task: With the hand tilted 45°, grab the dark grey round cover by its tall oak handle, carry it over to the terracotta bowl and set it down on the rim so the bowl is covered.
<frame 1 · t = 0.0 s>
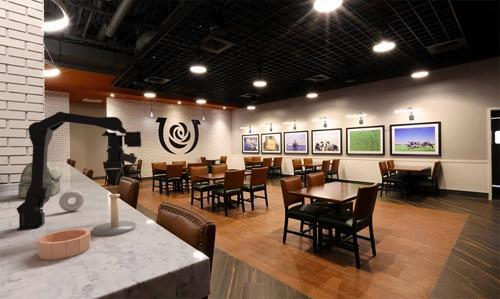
hand: (115, 184, 106), 15 cm above the table, tool pointing down, fingers open, 9 cm apart
donut: (72, 211, 119), on the table
lunch bag: (41, 195, 160), on the table
cover: (114, 229, 92), on the table
bowl: (65, 250, 73), on the table
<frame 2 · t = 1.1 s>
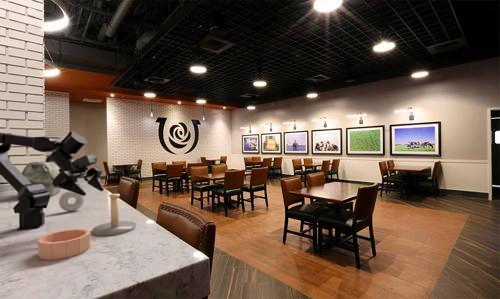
hand: (94, 192, 93), 13 cm above the table, tool tilted 45°, fingers open, 9 cm apart
nothing on the table moved.
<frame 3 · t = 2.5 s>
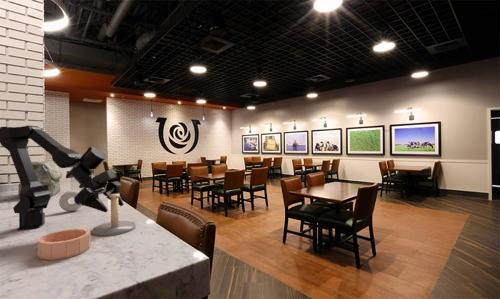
hand: (115, 208, 92), 8 cm above the table, tool tilted 45°, fingers open, 9 cm apart
nothing on the table moved.
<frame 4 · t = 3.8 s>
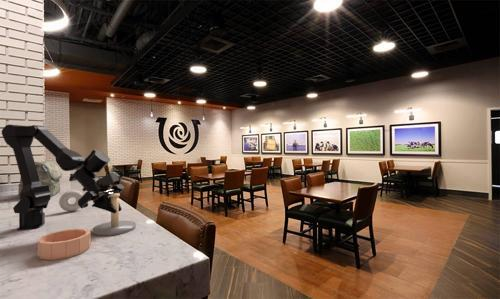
hand: (118, 211, 92), 7 cm above the table, tool tilted 45°, fingers closed on cover, 2 cm apart
cover: (114, 229, 92), on the table, touching gripper
everything else where it was.
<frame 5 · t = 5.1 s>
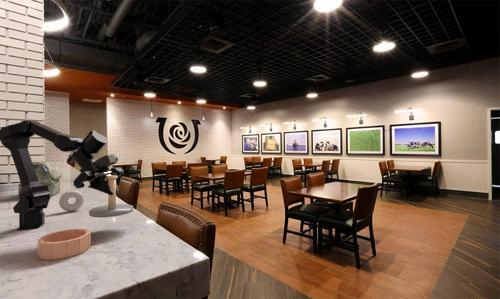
hand: (115, 193, 90), 14 cm above the table, tool tilted 45°, fingers closed on cover, 2 cm apart
cover: (112, 211, 90), point 7 cm above the table, touching gripper
everything else where it was.
when the fingers open (12 cm above the table, at t = 6.6 s): cover stays where it is, resting on bowl.
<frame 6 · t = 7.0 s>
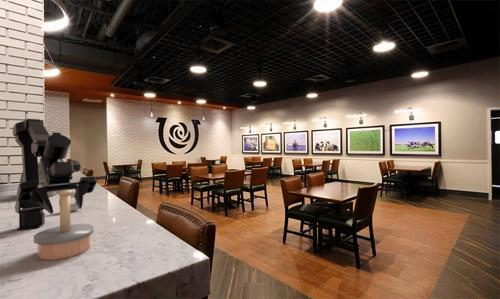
hand: (66, 210, 72), 12 cm above the table, tool tilted 45°, fingers open, 7 cm apart
cover: (65, 235, 73), point 4 cm above the table, touching bowl
everything else where it was.
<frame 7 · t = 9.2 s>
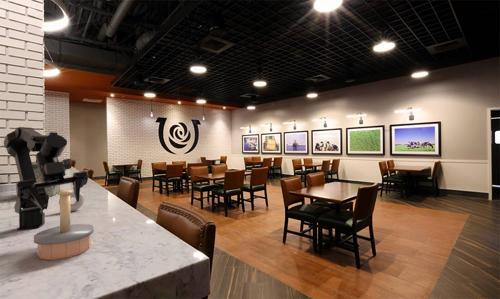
hand: (61, 205, 81), 12 cm above the table, tool tilted 40°, fingers open, 9 cm apart
nothing on the table moved.
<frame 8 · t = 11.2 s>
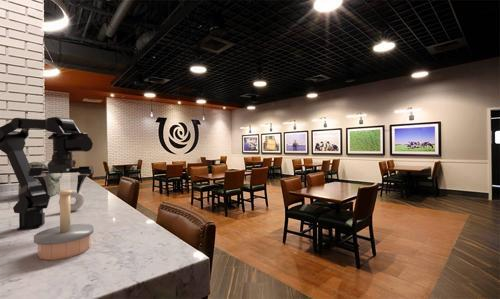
hand: (63, 194, 93), 13 cm above the table, tool pointing down, fingers open, 9 cm apart
nothing on the table moved.
at the end: cover 0.1 cm from the bowl (horizontally); cover point 4.5 cm above the table; the gripper is holding nothing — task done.
